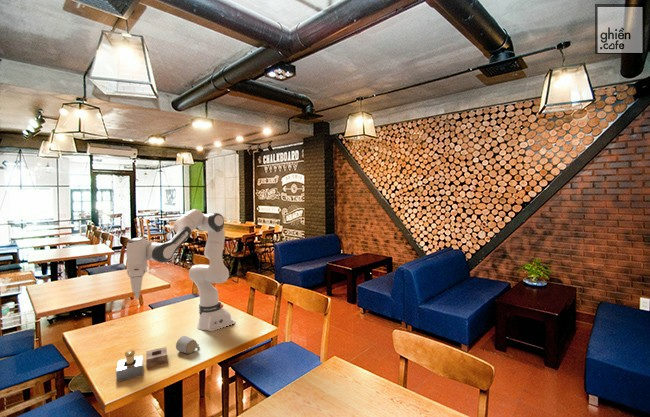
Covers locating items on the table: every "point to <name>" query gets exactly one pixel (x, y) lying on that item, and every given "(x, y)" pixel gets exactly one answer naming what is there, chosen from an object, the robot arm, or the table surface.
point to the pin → (130, 357)
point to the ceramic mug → (186, 344)
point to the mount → (156, 357)
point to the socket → (129, 369)
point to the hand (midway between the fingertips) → (137, 295)
